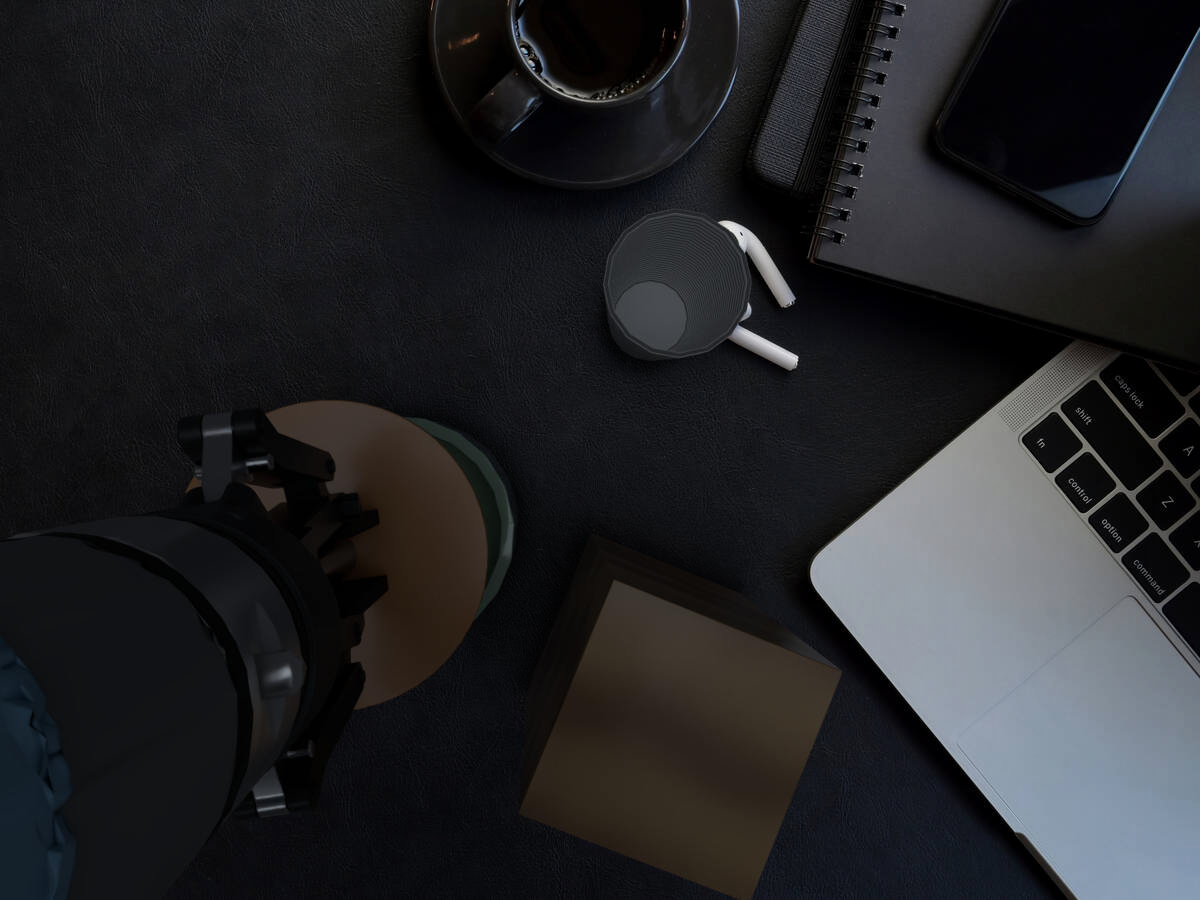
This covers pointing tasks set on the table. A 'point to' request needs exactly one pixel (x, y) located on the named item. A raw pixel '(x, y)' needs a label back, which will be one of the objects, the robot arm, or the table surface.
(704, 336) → the cup
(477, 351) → the table surface
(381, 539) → the lid
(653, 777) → the stand
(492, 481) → the pot
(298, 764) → the robot arm
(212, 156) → the table surface
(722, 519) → the table surface
